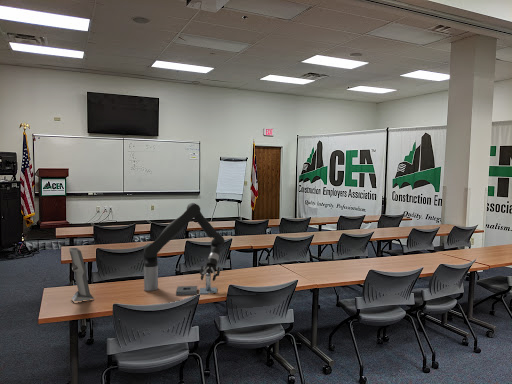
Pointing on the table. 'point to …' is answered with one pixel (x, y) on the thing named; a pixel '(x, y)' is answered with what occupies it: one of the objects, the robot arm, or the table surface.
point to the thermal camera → (80, 276)
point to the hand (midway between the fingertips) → (207, 280)
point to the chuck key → (208, 281)
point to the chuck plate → (186, 290)
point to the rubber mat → (203, 291)
